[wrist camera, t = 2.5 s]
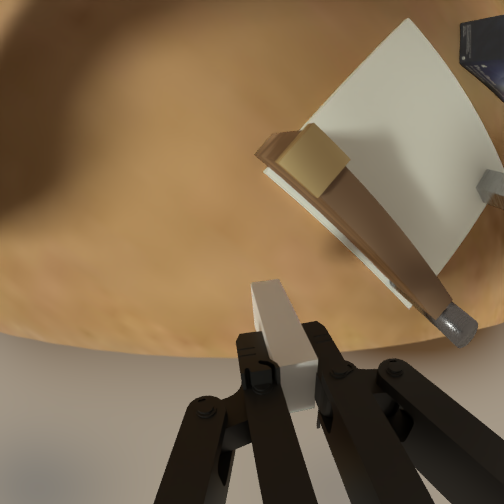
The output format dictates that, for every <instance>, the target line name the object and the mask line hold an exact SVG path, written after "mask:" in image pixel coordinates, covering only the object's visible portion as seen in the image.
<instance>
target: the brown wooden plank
mask: <svg viewBox="0 0 504 504" xmlns="http://www.w3.org/2000/svg"><path fill="white" fill-rule="evenodd" d="M254 155H255V156H256V157H257V158H259V159H260V160H261V161H262V162H263V163H265V164H266V165H267V166H268V167H269V168H270V169H272V170H273V171H274V172H275V173H276V174H277V175H279V176H280V177H281V178H282V179H283V180H284V181H285V182H287V183H288V184H289V185H290V186H291V187H292V188H293V189H295V190H296V191H297V192H298V193H299V194H300V195H301V196H302V197H303V198H305V199H306V200H307V201H308V202H309V203H310V204H311V205H312V206H313V207H314V208H316V209H317V210H318V211H319V212H320V213H321V214H322V215H323V216H324V217H325V218H326V219H327V220H328V221H330V222H331V223H332V224H333V225H334V226H335V227H336V228H337V229H338V230H339V231H340V232H341V233H342V234H343V235H344V236H345V237H346V238H347V239H348V240H349V241H350V242H351V243H352V244H353V245H355V246H356V247H357V248H358V249H359V250H360V251H361V252H362V253H363V254H364V255H365V256H366V257H367V258H368V259H369V260H370V261H371V262H372V263H373V265H374V266H375V267H376V268H377V269H378V270H379V271H380V272H381V273H382V274H383V275H384V276H385V277H387V278H388V279H389V280H390V281H391V282H392V283H394V284H395V285H396V286H397V287H398V288H399V289H401V290H402V291H403V292H404V293H405V294H406V295H408V296H409V297H410V298H411V299H412V300H413V301H414V302H416V303H417V304H418V305H419V306H420V307H421V308H422V309H423V310H425V311H426V312H427V313H428V314H429V315H430V316H431V317H432V318H433V319H435V320H437V318H438V317H439V316H440V315H441V314H442V312H443V311H444V310H445V309H446V308H447V306H448V305H449V304H450V303H451V301H452V298H451V297H450V295H449V294H448V292H447V291H446V289H445V288H444V286H443V285H442V283H441V282H440V280H439V279H438V277H437V276H436V275H435V273H434V272H433V270H432V269H431V268H430V266H429V265H428V264H427V262H426V261H425V259H424V258H423V257H422V255H421V254H420V253H419V251H418V250H417V249H416V247H415V246H414V245H413V244H412V242H411V241H410V240H409V238H408V237H407V236H406V235H405V233H404V232H403V231H402V230H401V228H400V227H399V226H398V225H397V224H396V222H395V221H394V220H393V219H392V217H391V216H390V215H389V214H388V213H387V211H386V210H385V209H384V208H383V207H382V206H381V204H380V203H379V202H378V201H377V200H376V199H375V198H374V196H373V195H372V194H371V193H370V192H369V191H368V190H367V189H366V188H365V186H364V185H363V184H362V183H361V182H360V181H359V180H358V179H357V178H356V177H355V176H354V174H353V173H352V172H351V171H350V170H349V169H348V168H347V167H346V165H347V163H348V162H349V161H350V160H351V159H350V158H349V157H348V156H347V155H346V154H345V153H344V152H343V151H342V150H341V149H340V148H339V147H338V146H337V145H336V144H335V143H334V142H333V141H332V140H331V139H330V138H329V137H328V136H327V135H326V134H325V133H324V132H323V131H322V130H321V129H320V128H319V127H318V126H317V125H316V124H315V123H309V124H307V125H306V127H305V128H304V129H303V130H300V131H291V132H283V133H276V134H272V135H271V136H270V137H269V138H268V139H267V140H266V142H265V143H264V144H263V145H262V146H261V147H260V148H259V150H258V151H257V152H256V153H255V154H254Z"/></svg>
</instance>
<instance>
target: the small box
mask: <svg viewBox="0 0 504 504" xmlns="http://www.w3.org/2000/svg"><path fill="white" fill-rule="evenodd" d="M460 29H461V34H460V35H461V38H460V64H461V65H462V66H463V67H464V68H466V69H467V70H468V71H469V72H471V73H472V74H473V75H474V76H475V77H477V78H478V79H479V80H480V81H481V82H482V83H484V84H485V85H486V86H487V87H488V88H489V89H490V90H491V91H492V92H493V93H495V94H496V95H497V96H498V97H499V98H500V99H501V100H502V101H503V102H504V15H499V16H494V17H489V18H484V19H480V20H475V21H470V22H465V23H461V24H460Z"/></svg>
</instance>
